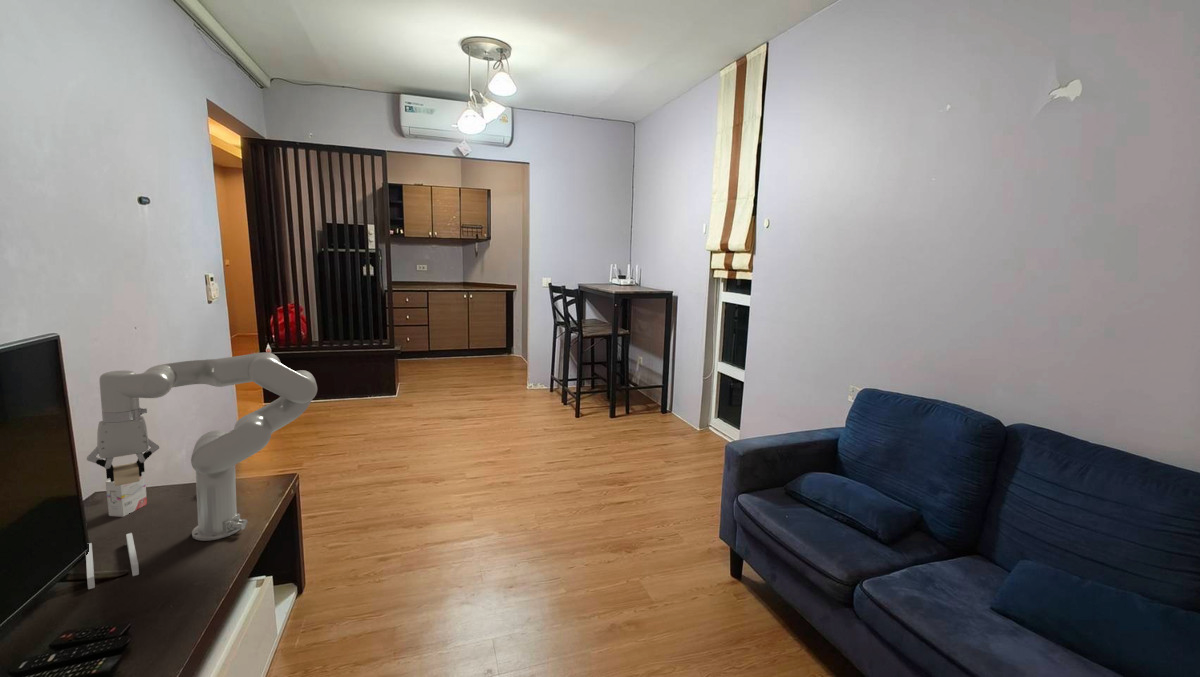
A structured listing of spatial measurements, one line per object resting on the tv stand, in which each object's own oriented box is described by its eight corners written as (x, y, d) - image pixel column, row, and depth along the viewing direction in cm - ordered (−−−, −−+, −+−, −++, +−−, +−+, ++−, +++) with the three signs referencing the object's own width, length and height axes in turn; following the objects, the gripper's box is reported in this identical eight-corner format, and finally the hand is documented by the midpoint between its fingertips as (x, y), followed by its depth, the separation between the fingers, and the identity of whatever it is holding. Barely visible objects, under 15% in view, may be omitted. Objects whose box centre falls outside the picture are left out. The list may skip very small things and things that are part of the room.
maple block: (113, 480, 138) (112, 466, 138) (137, 475, 142) (136, 462, 141) (114, 486, 135) (113, 472, 134) (139, 481, 138) (138, 467, 138)
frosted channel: (86, 554, 137) (85, 544, 137) (132, 542, 144) (131, 532, 144) (88, 589, 124) (87, 578, 123) (139, 574, 131) (138, 564, 130)
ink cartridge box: (133, 503, 165) (130, 461, 163) (147, 504, 165) (145, 462, 163) (107, 516, 157) (103, 472, 154) (122, 517, 157) (119, 473, 154)
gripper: (160, 407, 145) (164, 465, 148) (76, 417, 133) (82, 481, 135) (164, 413, 140) (167, 474, 143) (77, 424, 128) (82, 490, 130)
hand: (126, 476), depth 139 cm, fingers closed on maple block, 5 cm apart
